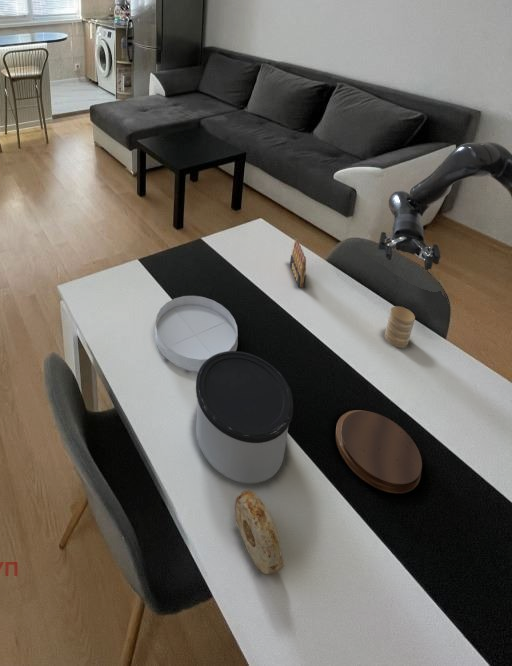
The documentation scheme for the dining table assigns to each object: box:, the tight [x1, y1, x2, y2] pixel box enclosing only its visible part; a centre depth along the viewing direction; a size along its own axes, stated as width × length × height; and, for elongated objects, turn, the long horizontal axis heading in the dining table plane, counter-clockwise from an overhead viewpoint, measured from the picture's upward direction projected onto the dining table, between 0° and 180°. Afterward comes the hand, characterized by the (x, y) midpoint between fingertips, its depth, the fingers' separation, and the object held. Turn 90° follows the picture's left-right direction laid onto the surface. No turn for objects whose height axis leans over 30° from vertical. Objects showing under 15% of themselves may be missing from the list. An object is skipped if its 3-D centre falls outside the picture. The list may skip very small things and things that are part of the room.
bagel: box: [233, 489, 285, 575], centre depth 73 cm, size 10×4×10 cm, turn 19°
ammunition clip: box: [289, 238, 307, 289], centre depth 134 cm, size 11×2×12 cm, turn 172°
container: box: [195, 350, 294, 484], centre depth 89 cm, size 19×19×15 cm
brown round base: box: [335, 409, 423, 495], centre depth 87 cm, size 15×15×4 cm
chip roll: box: [384, 305, 416, 348], centre depth 111 cm, size 5×5×10 cm
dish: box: [154, 295, 239, 373], centre depth 116 cm, size 22×22×5 cm
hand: (408, 262), depth 116 cm, fingers open, 8 cm apart
